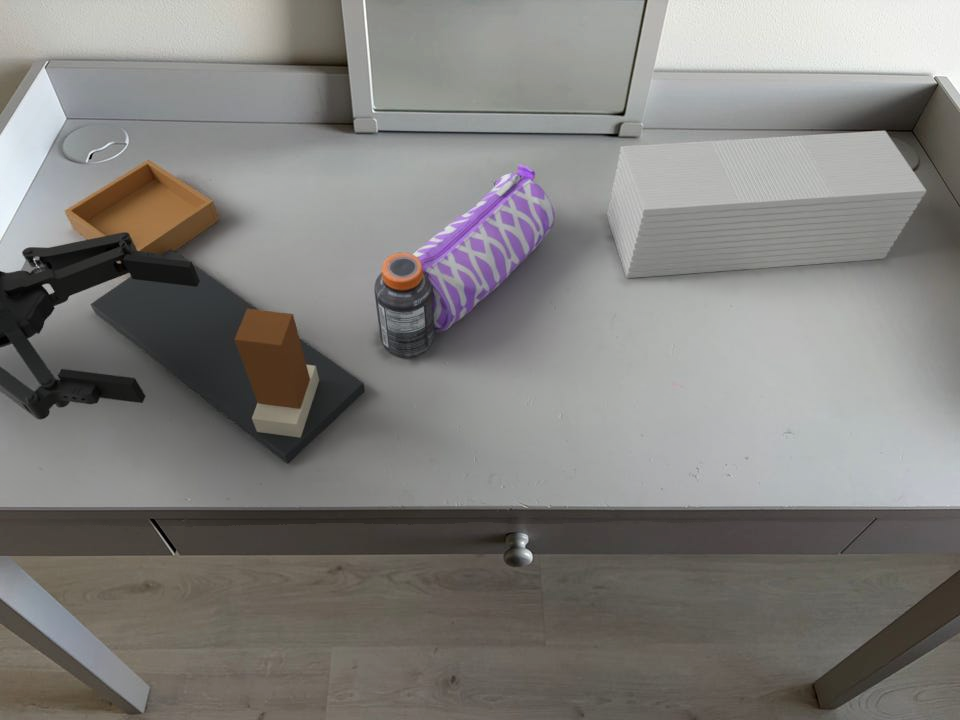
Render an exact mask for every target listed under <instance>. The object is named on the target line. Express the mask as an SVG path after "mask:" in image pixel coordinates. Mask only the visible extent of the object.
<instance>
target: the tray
mask: <svg viewBox="0 0 960 720" xmlns="http://www.w3.org/2000/svg"><path fill="white" fill-rule="evenodd" d="M63 212H64V214H65V216H66V217H67V220H68V221H69V223H70V225H71V227H72V229H73V230H74V232H76V233H77V234H79V235H80V236H81V237H83V238H84V239H85V240H88V239H93V238H98V237H103V236H108V235H113V234H118V233H123V232H127V233H129V234H130V237H131V238H132V241H133V243H134V245H135V247H136V249H137V251H142V252H149V253H150V252H151V253H160V254H162V255H163V254H164V253H166V252H167V251H168V250H170V249H172V250H173V251H175V252H176V251H177V250H179V249H180V248H181V247H183V246H184V245H186V244H187V243H189V242H190V241H192V240H193V239H194V238H196V237H197V236H199V235H200V234H202V233H203V232H205V231H206V230H207V229H209V228H210V227H212V226H213V225H215V224H216V223H218V222H219V221H220V217H219V215H218V212H217V209H216V205H215V202H214V200H212V199H211V198H209V197H207V196H206V195H204V194H203V193H201V192H200V191H198V190H196V189H195V188H193V187H192V186H191V185H189V184H187V183H186V182H184V181H183V180H181V179H179V178H178V177H177V176H175V175H173V174H172V173H171V172H168V171H167V170H166V169H164V168H163V167H162V166H159V165H158V164H156V163H155V162H153V161H151V160H150V159H146V160H145V161H144V162H142V163H140V164H138V165H137V166H136V167H134V168H133V169H130V170H129V171H127V172H125V173H124V174H122V175H120V176H119V177H118V178H116V179H114V180H112V181H111V182H109V183H108V184H106V185H104V186H102V187H101V188H99V189H97V190H96V191H94V192H93V193H91V194H89V195H88V196H86V197H84V198H83V199H81V200H79V201H78V202H76V203H75V204H73V205H72V206H70V207H68V208H67V209H65V210H64V211H63ZM116 262H117V263H121V261H116Z"/></svg>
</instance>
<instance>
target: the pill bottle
mask: <svg viewBox="0 0 960 720" xmlns="http://www.w3.org/2000/svg"><path fill="white" fill-rule="evenodd" d="M412 254H413V253H408V252H397V253H393V254H391V255H389V256H387V258H386V259H385V260H384V261H383V263H382V264H381V272H380V273H379V275H378V276H377V277H376V280H375V282H374V288H373V289H374V291H373V292H374V299H375V306H376V313H377V321H378V328H379V337H380V341H381V344H382V346H383V348H384V350H386V351H387V352H388V353H390V355H391V354H392V355H393V356H396V357H400V358H413V357H418V356H420V355H422V354H425V352H427V351H428V350H429V349H430V348H431V347H432V345H433V344H434V340H435V335H436V331H435V330H434V315H433V314H434V311H433V286H432V284H431V282H430V280H429V278H428V275H427V274H426V273H425V272H423V269H422V263H421V261H420V260H419V259H418V258H417V257H416V256H414V255H412Z"/></svg>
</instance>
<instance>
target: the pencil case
mask: <svg viewBox="0 0 960 720" xmlns="http://www.w3.org/2000/svg"><path fill="white" fill-rule="evenodd" d="M535 178H536V172H535V170H534V169H533V168H531V167H530V166H527V165H525V164H522V163H518V165H517V171H516V172H515V173H513V172H510V173H507V174H503V175H502V176H500V177H499V178H498V179H497V180H495V182H493V188H492V189H491V190H490V191H488V193H487V194H485V195H484V196H483V198H482V199H481V200H479V201H478V202H477V203H476V204H475V205H474V206H473V207H471V208H470V209H469V210H468V211H467V212H465V213H464V214H462V215H460V216H459V217H457V218H455V219H454V220H453V221H451V222H450V223H449V224H448V225H447V226H446V227H444V228H443V229H441V230H440V231H439V232H438V233H436V234H435V235H434V236H433V237H432V238H430V239H429V240H428V241H427V242H425V244H423V245H422V246H421V247H420V248H418V249H417V250H416V251H415V252H413V253H411V254H412V255H414V256H416V257H417V258H418V259H419V260H420V261H421V263H422V269H423V272H425V273H426V274H427V275H428V278H429V280H430V282H431V284H432V286H433V311H434V314H433V315H434V330H435V332H436V333H437V332H438V333H441V332H444V331H446V330H448V329H449V328H451V326H452V325H453V324H455V323H456V322H459V321H460V320H461V319H462V318H464V317H466V315H468V313H470V312H471V310H473V309H474V307H476V305H477V304H478V303H480V302H481V301H482V300H483V299H485V298H486V297H487V296H489V295H490V294H491V293H492V292H493V291H494V290H496V288H498V287H499V286H500V285H501V284H502V283H503V282H504V281H505V280H506V279H507V278H508V277H509V276H510V275H511V273H512V272H514V271H515V269H516V268H517V267H519V266H520V264H522V263H523V262H524V260H526V258H527V257H528V256H529V255H531V254H532V252H533V251H535V250H536V248H538V246H539V245H540V244H541V243H542V241H543V240H544V238H545V237H546V236H547V235H548V234H549V233H550V231H551V230H552V229H553V227H554V224H555V217H556V215H555V210H554V209H555V208H554V205H553V204H552V202H551V199H550V197H549V196H548V194H547V193H546V192H545V190H544V189H543V188H542V187H541V186H540V185H539V184H538V183H537V182H534V180H535Z"/></svg>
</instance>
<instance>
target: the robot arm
mask: <svg viewBox="0 0 960 720" xmlns="http://www.w3.org/2000/svg"><path fill="white" fill-rule="evenodd" d="M21 254H22V256H23V257H24V259H25V261H24V263H23V265H22V267H21V269H20V270H15V271H9V272H4V271H1V270H0V349H1V348H4V347H7V346H11V345H12V346H13V347H14V349H15V351H16V352H17V353H18V355H19V356H20V358H21V359H22V361H23V362H24V364H25V365H26V366H27V368H28V369H29V371H30V373H31V374H32V375H33V377H34V378H35V379H36V381H37V383H38V384H39V386H38V387H37V388H36V389H35V390H33V389H32V388H30V387H29V386H27V385H26V384H25V383H23V382H22V381H21V380H19V379H18V378H17V377H16V376H14V375H13V374H12V373H10V372H9V371H7V370H6V369H4V368H3V367H2V366H0V392H1V393H2V394H4V395H5V396H6V397H8V398H9V399H10V400H11V401H13V402H14V403H16V404H17V405H18V406H19V407H21V408H22V409H23V410H25V412H27V413H28V414H30V415H31V416H33V417H34V418H35V419H37V420H43V419H45V418H47V417H49V415H50V413H51V411H50V409H51V408H52V407H53V406H54V405H55V406H56V407H57V408H58V409H59V408H60V409H61V408H62V409H63V408H65V407H67V406H68V405H69V404H70V403H75V404H76V403H77V404H84V405H95V404H98V402H99V400H100V399H107V400H115V401H122V402H131V403H140V404H143V403H144V400H145V398H146V394H145V392H144V391H143V389H142V387H141V386H140V384H139V382H138V381H137V379H136V378H135V377H130V376H120V375H113V374H106V373H98V372H89V371H82V370H73V369H67V368H61V369H60V370H59V372H58V374H57V378H58V379H57V378H56V377H55V376H54V374H53V373H52V371H51V370H50V369H49V367H48V365H46V363H45V362H44V360H43V359H42V357H41V356H40V354H39V353H38V351H37V350H36V349H35V347H34V346H33V344H32V342H31V341H30V340H29V339H30V338H32V337H33V336H35V335H36V334H37V335H38V334H39V335H40V333H41V332H42V330H43V328H44V325H45V323H46V321H47V319H48V318H49V317H50V316H51V315H52V313H53V312H54V310H55V306H59V305H60V304H61V305H62V304H63V303H65V302H68V300H69V297H70V296H73V295H76V294H78V293H82V292H83V291H86V290H89V289H91V288H94V287H96V286H100V285H102V284H105V283H106V282H110V281H112V280H114V279H117V278H119V277H122V276H125V275H127V274H129V275H130V277H132V279H136V280H144V281H153V282H161V283H169V284H178V285H186V286H195V287H197V286H198V284H199V282H200V280H199V278H198V275H197V273H196V270H195V268H194V265H195V264H194V263H193V261H189V260H188V261H181V260H172V259H165V257H164V255H162V254H160V253H151V252H150V253H149V252H142V251H137V249H136V247H135V245H134V243H133V241H132V238H131V237H130V234H129V233H127V232H123V233H118V234H113V235H108V236H103V237H98V238H93V239H88V240H87V239H83V240H79V241H75V242H74V241H73V242H70V243H65V244H60V245H55V246H50V247H39V246H37V247H36V246H30V247H29V246H28V247H25V248H24V249H23V250H22V252H21ZM117 261H121V263H118V262H117ZM44 285H50V287H51V288H52V290H53V292H52V293H49V292H48V290H47V288H45V286H44Z"/></svg>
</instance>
